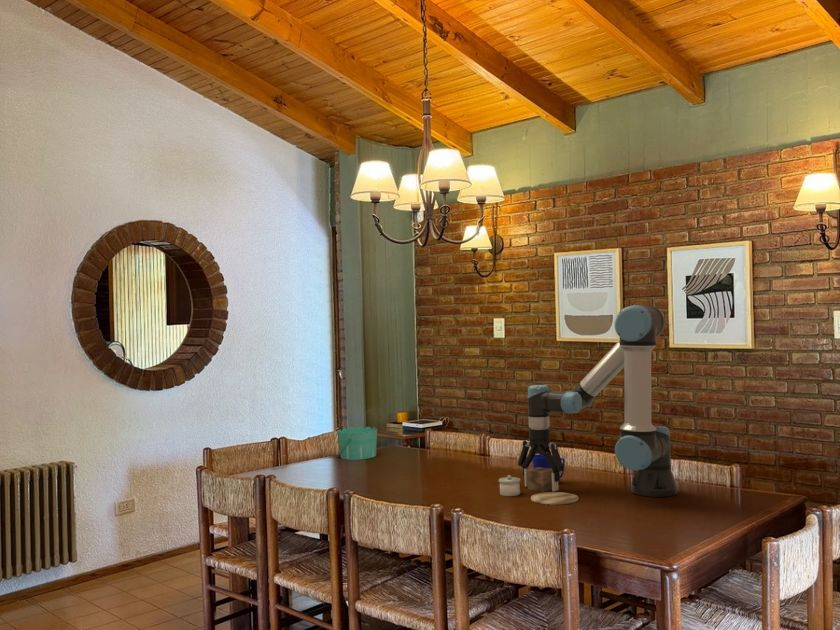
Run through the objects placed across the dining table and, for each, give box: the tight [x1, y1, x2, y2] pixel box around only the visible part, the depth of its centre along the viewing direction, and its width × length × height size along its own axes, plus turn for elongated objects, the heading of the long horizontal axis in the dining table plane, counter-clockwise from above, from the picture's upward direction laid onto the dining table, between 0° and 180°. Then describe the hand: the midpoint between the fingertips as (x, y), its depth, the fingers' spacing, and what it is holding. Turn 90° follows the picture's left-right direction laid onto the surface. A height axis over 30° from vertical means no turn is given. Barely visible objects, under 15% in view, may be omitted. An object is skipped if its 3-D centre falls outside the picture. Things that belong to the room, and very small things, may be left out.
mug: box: [531, 454, 566, 479], centre depth 279 cm, size 8×12×10 cm
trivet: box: [530, 491, 580, 506], centre depth 253 cm, size 16×16×1 cm
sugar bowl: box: [498, 474, 521, 497], centre depth 263 cm, size 8×8×7 cm
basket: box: [336, 426, 378, 461], centre depth 350 cm, size 19×18×13 cm
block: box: [527, 467, 553, 493], centre depth 269 cm, size 7×7×7 cm
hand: (541, 488), depth 269 cm, fingers open, 11 cm apart
